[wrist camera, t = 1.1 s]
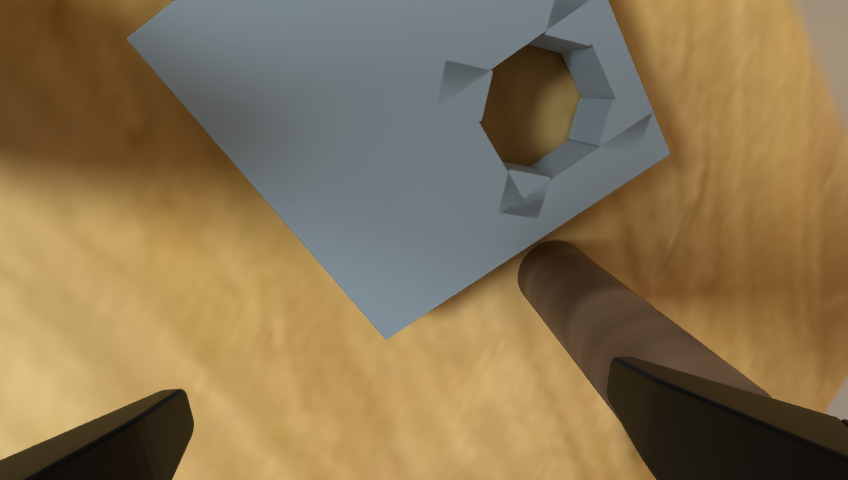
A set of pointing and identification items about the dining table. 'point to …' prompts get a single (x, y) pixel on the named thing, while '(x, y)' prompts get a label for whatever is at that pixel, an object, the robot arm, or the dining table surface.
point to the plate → (402, 128)
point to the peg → (611, 320)
